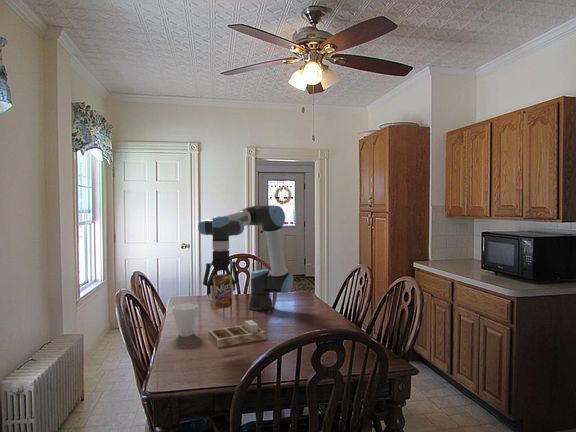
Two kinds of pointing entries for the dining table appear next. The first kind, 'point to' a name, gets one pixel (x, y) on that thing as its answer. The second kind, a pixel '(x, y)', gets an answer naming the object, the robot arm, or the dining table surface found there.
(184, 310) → the cup
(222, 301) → the candy box
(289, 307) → the dining table surface
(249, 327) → the white rectangular carton
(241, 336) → the rack
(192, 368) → the dining table surface
